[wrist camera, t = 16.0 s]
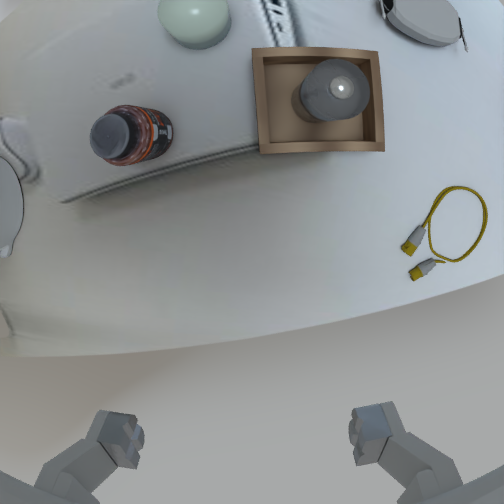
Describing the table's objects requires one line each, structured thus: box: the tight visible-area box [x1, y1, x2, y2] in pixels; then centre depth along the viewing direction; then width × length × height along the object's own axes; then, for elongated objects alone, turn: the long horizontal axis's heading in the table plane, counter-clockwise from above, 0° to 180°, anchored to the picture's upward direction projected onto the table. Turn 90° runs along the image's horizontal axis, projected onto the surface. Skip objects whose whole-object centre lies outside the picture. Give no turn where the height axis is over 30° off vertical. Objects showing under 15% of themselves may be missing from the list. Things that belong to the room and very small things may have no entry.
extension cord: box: [402, 186, 488, 281], centre depth 37 cm, size 12×16×2 cm
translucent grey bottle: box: [291, 59, 370, 123], centre depth 26 cm, size 5×5×12 cm
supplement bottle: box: [90, 105, 173, 166], centre depth 28 cm, size 6×6×11 cm
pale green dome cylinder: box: [157, 0, 231, 50], centre depth 26 cm, size 7×7×6 cm
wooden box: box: [252, 47, 385, 154], centre depth 30 cm, size 13×11×5 cm
